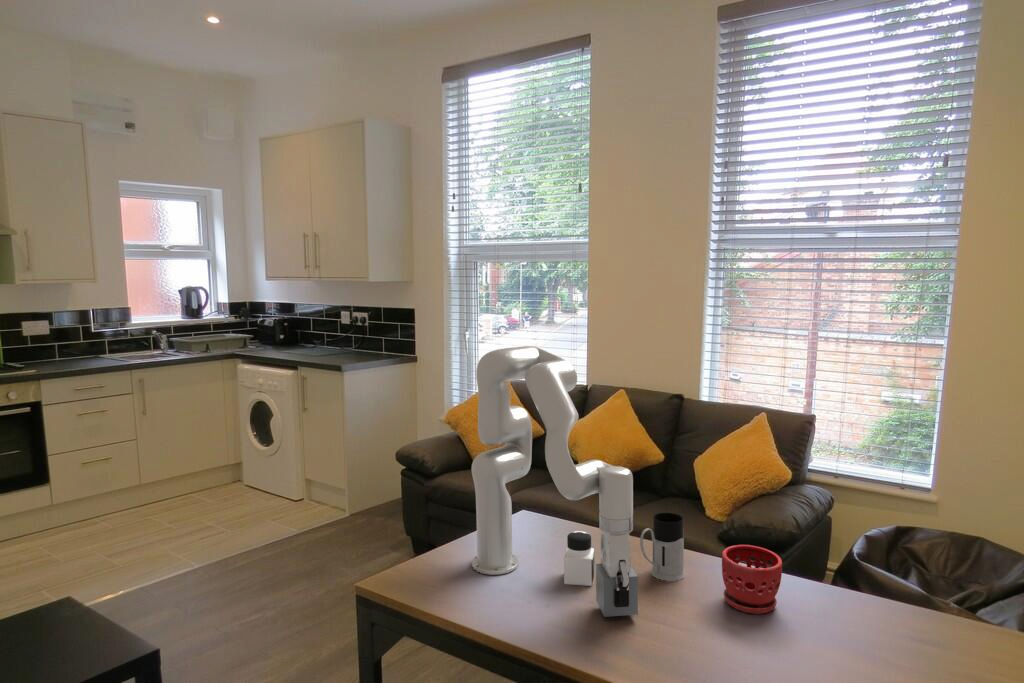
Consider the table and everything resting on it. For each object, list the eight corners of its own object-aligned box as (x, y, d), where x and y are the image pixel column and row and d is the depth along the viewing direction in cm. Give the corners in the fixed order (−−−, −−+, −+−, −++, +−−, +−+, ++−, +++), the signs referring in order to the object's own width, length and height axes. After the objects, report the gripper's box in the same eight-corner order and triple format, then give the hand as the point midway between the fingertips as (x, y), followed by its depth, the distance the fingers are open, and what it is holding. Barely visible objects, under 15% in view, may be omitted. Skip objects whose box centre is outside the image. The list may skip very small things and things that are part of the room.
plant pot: (711, 606, 148) (712, 556, 148) (735, 586, 158) (736, 539, 157) (768, 625, 140) (769, 572, 139) (789, 603, 149) (790, 554, 148)
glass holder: (692, 575, 165) (693, 518, 164) (654, 590, 157) (654, 531, 156) (666, 563, 172) (666, 509, 171) (628, 577, 164) (628, 520, 163)
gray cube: (596, 600, 149) (596, 563, 149) (628, 598, 150) (628, 561, 149) (603, 616, 142) (603, 578, 141) (637, 614, 142) (637, 576, 142)
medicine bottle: (592, 586, 159) (592, 540, 158) (564, 584, 161) (563, 538, 160) (594, 574, 166) (594, 529, 165) (567, 572, 168) (566, 527, 167)
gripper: (591, 510, 153) (592, 581, 154) (609, 537, 135) (609, 617, 137) (622, 508, 153) (622, 579, 155) (643, 535, 136) (644, 615, 137)
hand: (616, 597), depth 146 cm, fingers closed on gray cube, 7 cm apart
